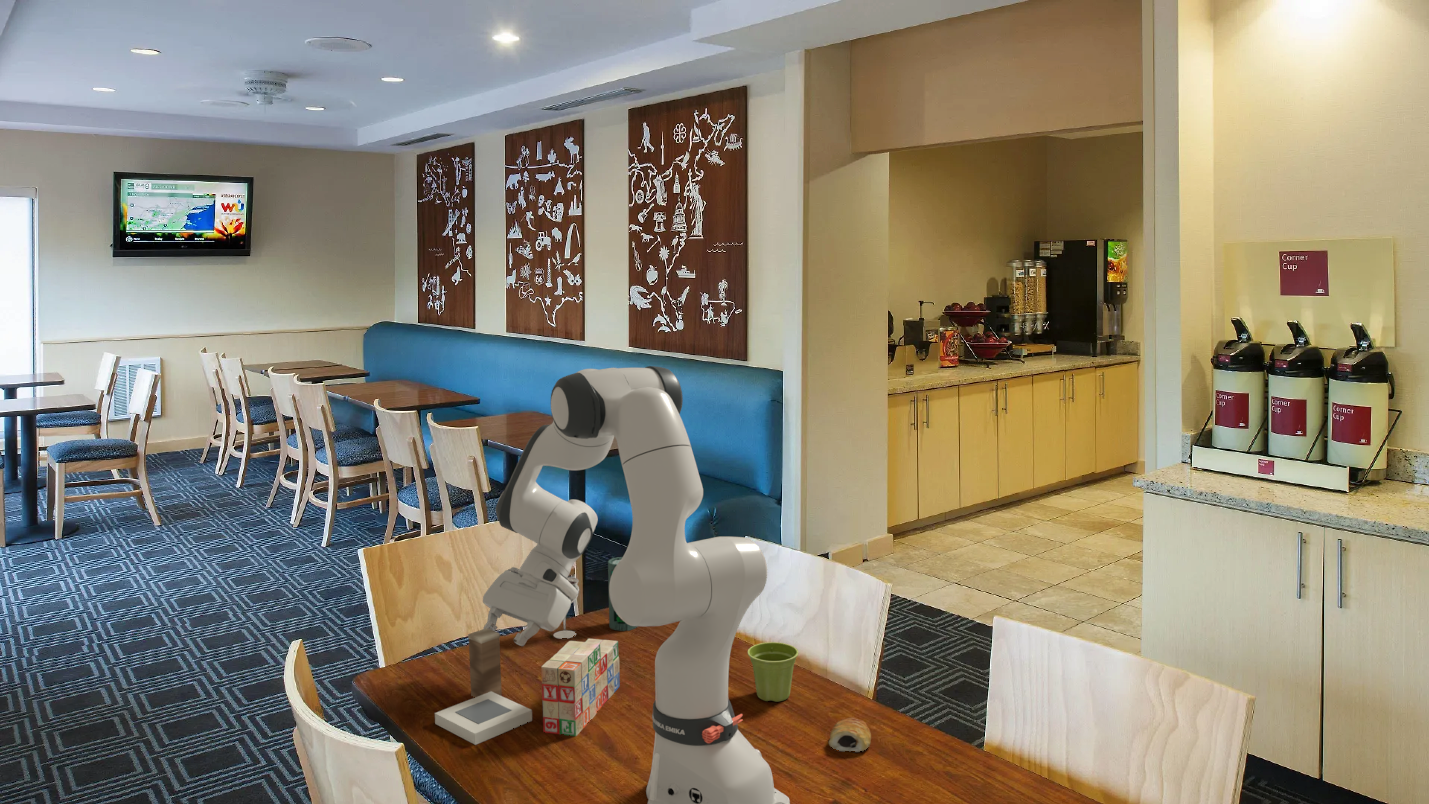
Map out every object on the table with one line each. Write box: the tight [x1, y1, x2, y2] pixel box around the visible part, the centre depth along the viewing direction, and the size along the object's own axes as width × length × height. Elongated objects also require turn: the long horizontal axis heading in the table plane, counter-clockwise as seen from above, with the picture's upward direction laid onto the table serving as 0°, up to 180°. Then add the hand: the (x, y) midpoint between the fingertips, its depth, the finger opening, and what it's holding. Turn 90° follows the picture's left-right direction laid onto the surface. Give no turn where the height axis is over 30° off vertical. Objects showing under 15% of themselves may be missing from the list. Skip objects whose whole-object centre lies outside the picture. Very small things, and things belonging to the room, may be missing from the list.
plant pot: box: [747, 641, 799, 703], centre depth 187 cm, size 9×9×9 cm
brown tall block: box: [467, 628, 503, 698], centre depth 188 cm, size 4×4×12 cm
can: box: [607, 556, 638, 632], centre depth 224 cm, size 6×6×15 cm
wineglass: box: [553, 576, 580, 640], centre depth 219 cm, size 7×7×12 cm
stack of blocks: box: [541, 638, 621, 737], centre depth 183 cm, size 21×6×12 cm, turn 165°
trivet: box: [434, 691, 533, 746], centre depth 178 cm, size 12×12×2 cm
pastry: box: [828, 716, 872, 753], centre depth 170 cm, size 9×7×4 cm
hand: (502, 637), depth 191 cm, fingers open, 8 cm apart
